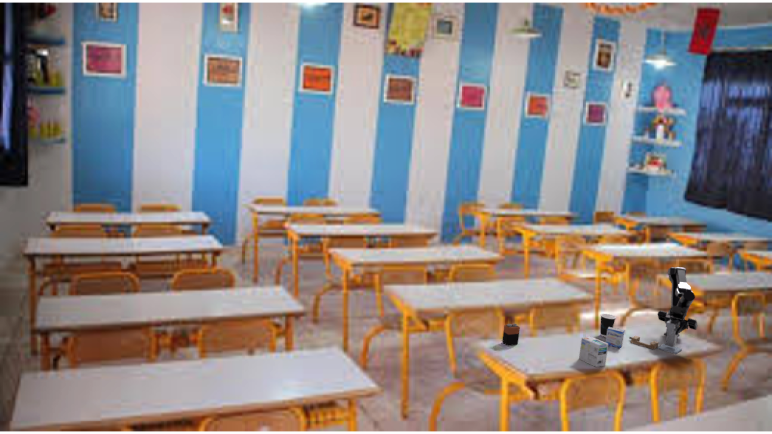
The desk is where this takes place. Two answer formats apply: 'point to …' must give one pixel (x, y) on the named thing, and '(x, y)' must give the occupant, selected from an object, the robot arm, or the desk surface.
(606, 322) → the dixie cup
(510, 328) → the battery
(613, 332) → the medicine box
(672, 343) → the grey stone block
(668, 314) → the robot arm
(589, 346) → the light bulb box
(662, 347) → the mat
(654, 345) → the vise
